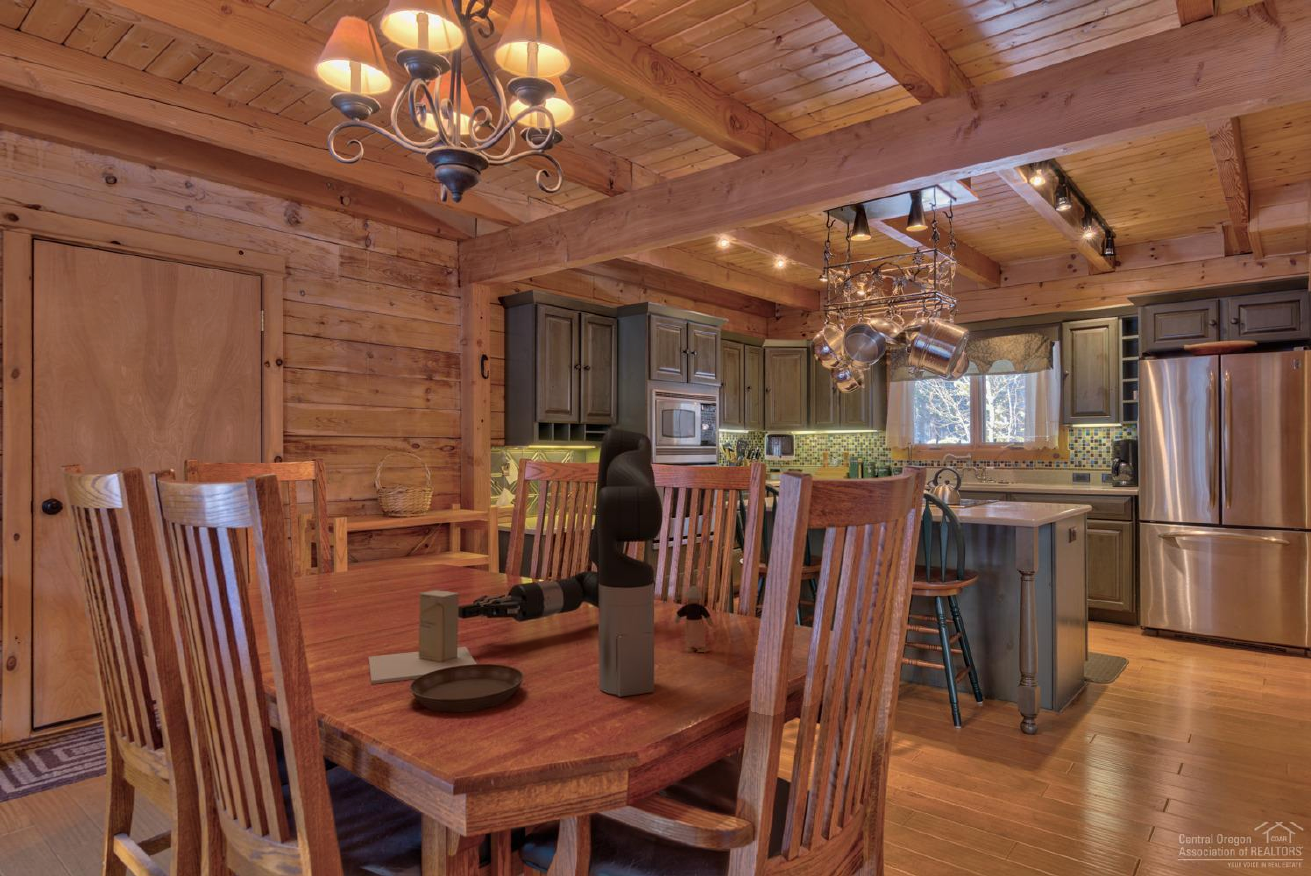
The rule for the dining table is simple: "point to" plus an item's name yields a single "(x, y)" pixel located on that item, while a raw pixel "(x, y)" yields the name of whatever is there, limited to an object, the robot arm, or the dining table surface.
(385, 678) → the mat
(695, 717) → the dining table surface
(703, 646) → the grandmother figurine
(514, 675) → the plant saucer
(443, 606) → the skincare box
